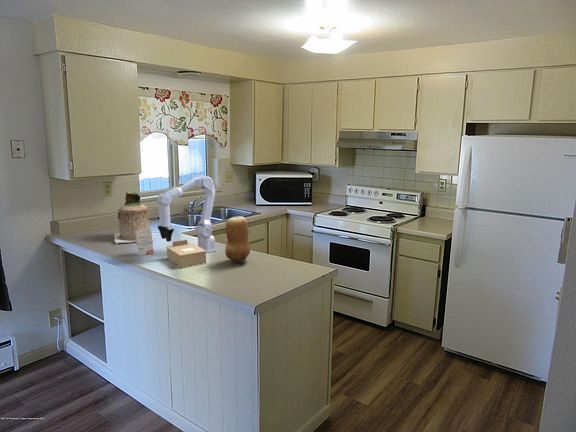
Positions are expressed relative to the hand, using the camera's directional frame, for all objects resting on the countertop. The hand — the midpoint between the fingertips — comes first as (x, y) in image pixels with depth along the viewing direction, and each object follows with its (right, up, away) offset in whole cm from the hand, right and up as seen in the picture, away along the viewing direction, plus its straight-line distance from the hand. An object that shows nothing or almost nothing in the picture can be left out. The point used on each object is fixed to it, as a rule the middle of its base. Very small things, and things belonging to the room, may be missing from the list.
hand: (166, 239), depth 235 cm
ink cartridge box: (-14, -9, +9) cm, 19 cm away
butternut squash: (+40, -12, -6) cm, 43 cm away
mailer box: (+12, -11, -4) cm, 17 cm away
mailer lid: (+12, -5, -5) cm, 14 cm away
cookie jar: (-33, -2, +43) cm, 54 cm away
